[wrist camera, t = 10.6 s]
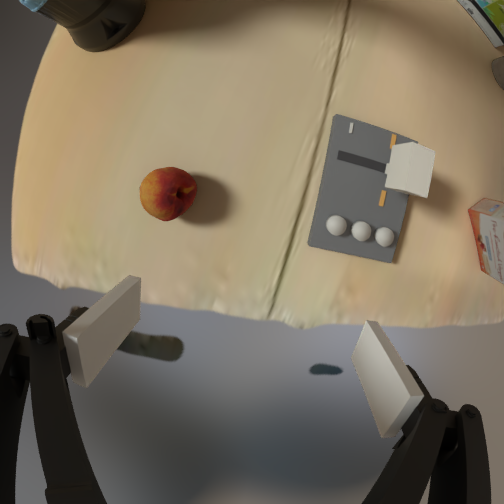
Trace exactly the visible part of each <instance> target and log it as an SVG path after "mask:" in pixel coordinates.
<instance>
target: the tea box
mask: <svg viewBox="0 0 504 504" xmlns="http://www.w3.org/2000/svg"><path fill="white" fill-rule="evenodd" d="M458 1H459V3H460V4H461V5H462V6H463V7H464V8H465V9H466V10H467V12H468V13H469V14H470V15H471V16H472V18H473V19H474V20H475V21H476V22H477V24H478V25H479V26H480V28H481V29H482V30H483V31H484V33H485V34H486V36H487V37H488V38H489V40H490V41H491V43H492V44H493V46H494V47H495V48H496V47H500V46H503V45H504V0H458Z"/></svg>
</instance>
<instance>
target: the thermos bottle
mask: <svg viewBox="0 0 504 504" xmlns="http://www.w3.org/2000/svg"><path fill="white" fill-rule="evenodd" d="M492 70H493V74H494V77H495V79H496V81H497V82H498V84H499V85H500V87H501V88H502V89H503V90H504V56H503V57H500V58H497V59H495V60H493V62H492Z"/></svg>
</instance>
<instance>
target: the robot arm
mask: <svg viewBox="0 0 504 504" xmlns="http://www.w3.org/2000/svg"><path fill="white" fill-rule="evenodd" d="M20 2H21V3H22V4H24V5H25V6H26V7H28V8H29V9H30V10H31V11H33V12H37V13H39V14H41V15H43V16H45V17H47V18H48V19H51V20H52V21H54V22H56V23H58V24H60V25H61V26H63V27H65V28H66V29H67V30H68V32H69V33H70V35H71V36H72V38H73V41H74V42H75V44H76V45H77V46H79V47H80V48H82V49H84V50H86V51H89V52H97V51H102V50H105V49H108V48H110V47H112V46H114V45H116V44H117V43H119V42H120V41H122V40H123V39H124V38H125V37H127V36H128V35H129V34H130V33H131V32H132V31H133V30H134V28H135V27H136V26H137V25H138V23H139V22H140V20H141V18H142V16H143V14H144V11H145V0H20ZM140 295H141V278H139V277H135V276H131V275H129V276H128V277H126V278H125V279H124V280H123V281H121V282H120V283H119V284H118V285H117V286H115V287H114V288H113V289H112V290H110V291H109V292H108V293H107V294H106V295H104V296H103V297H102V298H101V299H100V300H99V301H97V302H96V303H95V304H94V305H93V306H92V307H90V308H87V307H83V308H80V309H77V310H76V311H74V312H73V313H72V314H71V315H70V316H68V317H67V318H66V320H64V321H62V322H61V323H60V324H59V325H58V326H56V327H55V324H54V320H53V318H52V317H50V316H48V315H45V314H38V315H34V316H32V317H30V318H29V319H28V320H27V322H26V326H27V330H28V335H29V337H25V336H20V335H19V333H18V329H17V327H16V326H14V325H12V324H2V325H0V504H15V479H16V462H17V451H18V443H19V435H20V428H21V422H22V416H23V411H24V406H25V401H26V396H27V392H28V387H29V383H30V386H31V400H32V409H33V417H34V425H35V432H36V438H37V443H38V449H39V454H40V458H41V463H42V467H43V471H44V475H45V479H46V483H47V488H46V489H45V496H46V500H47V503H48V504H107V502H106V500H105V498H104V496H103V494H102V491H101V489H100V487H99V485H98V482H97V480H96V477H95V475H94V472H93V470H92V467H91V464H90V462H89V459H88V456H87V453H86V450H85V447H84V444H83V441H82V438H81V435H80V431H79V428H78V424H77V421H76V417H75V413H74V409H73V405H72V401H71V396H70V392H69V388H68V383H67V379H66V378H67V376H68V375H69V374H70V373H71V376H72V380H73V382H74V383H76V384H78V385H81V386H83V387H85V388H87V387H88V386H89V385H90V383H91V382H92V381H93V379H94V378H95V377H96V375H97V374H98V372H99V371H100V370H101V369H102V367H103V366H104V365H105V363H106V362H107V361H108V359H109V358H110V356H112V354H113V353H114V352H115V350H116V349H117V348H118V347H119V345H120V344H121V343H122V341H123V340H124V339H125V338H126V336H127V335H128V334H129V333H130V331H131V330H132V329H133V328H134V326H135V325H136V324H137V323H138V321H139V320H140ZM351 360H352V362H353V365H354V367H355V370H356V372H357V375H358V377H359V380H360V382H361V385H362V387H363V390H364V392H365V395H366V398H367V400H368V403H369V405H370V408H371V411H372V413H373V416H374V419H375V422H376V424H377V427H378V429H379V433H380V435H381V438H389V437H395V436H396V434H397V433H398V432H399V430H401V429H402V431H403V434H404V435H403V436H402V437H401V438H400V440H399V441H398V442H397V443H396V445H395V446H394V447H393V448H392V449H395V450H394V452H393V453H392V455H391V457H390V459H389V461H388V462H387V464H386V466H385V468H384V469H383V471H382V473H381V475H380V476H379V478H378V480H377V481H376V483H375V484H374V486H373V487H372V489H371V491H370V492H369V494H368V495H367V497H366V498H365V499H364V501H363V502H362V504H419V503H420V501H421V498H422V496H423V493H424V491H425V489H426V486H427V484H428V481H429V479H430V476H431V481H430V489H429V497H428V504H491V485H490V471H489V461H488V453H487V446H486V439H485V434H484V428H483V422H482V418H481V414H480V411H479V410H478V409H477V408H476V407H475V406H473V405H470V404H465V405H463V406H462V407H461V409H460V410H459V412H457V411H451V410H449V408H448V406H447V405H446V404H445V403H444V402H443V401H441V400H439V399H432V397H431V396H430V394H429V392H428V391H427V389H426V387H425V386H424V384H423V383H422V381H421V379H420V378H419V376H418V375H417V373H416V372H415V370H413V369H412V368H411V367H410V366H409V365H405V363H404V362H403V360H402V359H401V357H400V356H399V354H398V353H397V351H396V349H395V348H394V346H393V345H392V343H391V342H390V340H389V338H388V337H387V336H386V334H385V332H384V331H383V330H382V328H381V326H380V325H379V323H378V322H376V321H368V320H366V322H365V325H364V327H363V330H362V333H361V335H360V337H359V340H358V343H357V345H356V347H355V349H354V352H353V354H352V356H351Z"/></svg>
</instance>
